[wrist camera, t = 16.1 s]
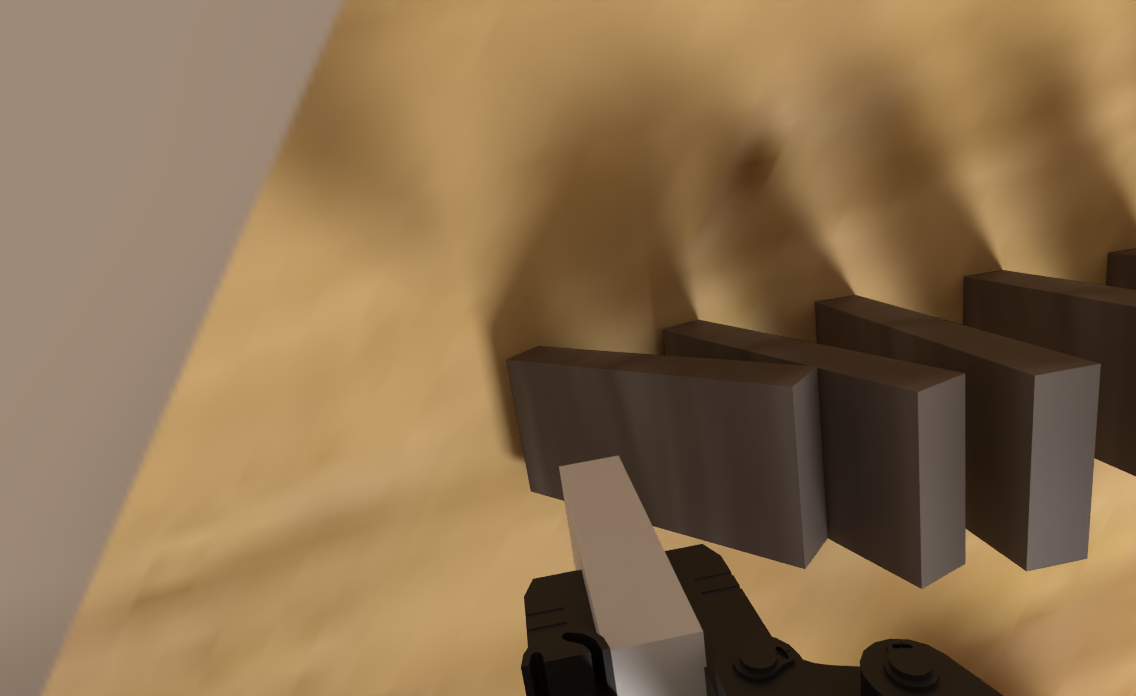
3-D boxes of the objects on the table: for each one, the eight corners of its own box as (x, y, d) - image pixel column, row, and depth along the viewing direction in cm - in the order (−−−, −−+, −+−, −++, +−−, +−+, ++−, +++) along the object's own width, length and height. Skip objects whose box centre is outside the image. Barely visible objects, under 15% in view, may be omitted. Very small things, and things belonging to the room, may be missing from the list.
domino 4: (961, 400, 26) (1246, 524, 16) (963, 276, 24) (1273, 331, 15) (999, 393, 26) (1303, 513, 16) (1002, 270, 25) (1335, 320, 15)
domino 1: (530, 491, 23) (805, 569, 17) (506, 359, 22) (791, 386, 15) (559, 472, 24) (827, 538, 18) (537, 346, 23) (817, 366, 16)
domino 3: (820, 426, 25) (1026, 571, 16) (815, 301, 24) (1034, 375, 14) (859, 418, 25) (1086, 558, 16) (855, 294, 24) (1100, 363, 14)
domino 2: (678, 457, 24) (921, 588, 15) (662, 330, 23) (917, 392, 14) (712, 444, 25) (965, 563, 16) (698, 319, 24) (964, 373, 15)
